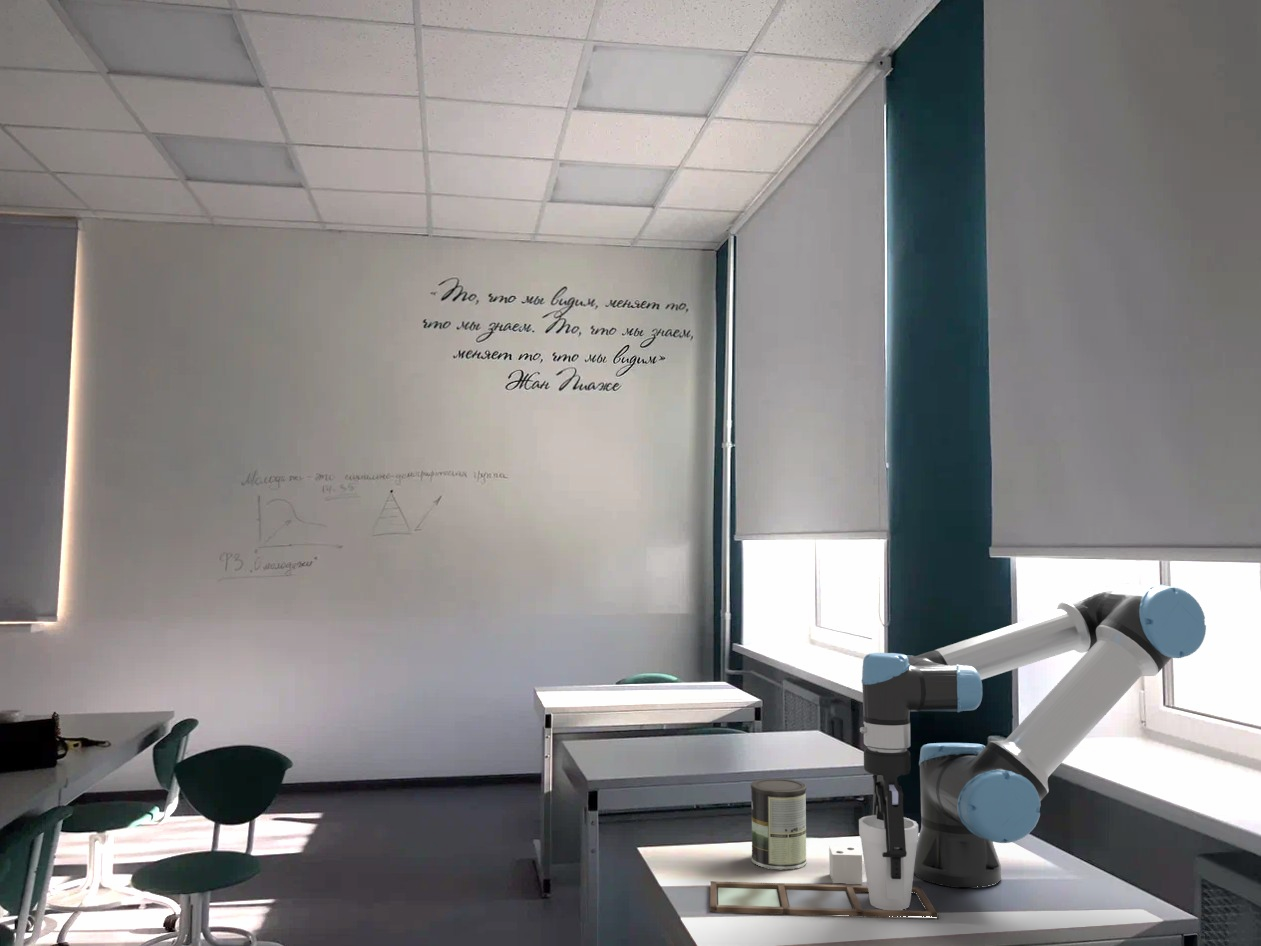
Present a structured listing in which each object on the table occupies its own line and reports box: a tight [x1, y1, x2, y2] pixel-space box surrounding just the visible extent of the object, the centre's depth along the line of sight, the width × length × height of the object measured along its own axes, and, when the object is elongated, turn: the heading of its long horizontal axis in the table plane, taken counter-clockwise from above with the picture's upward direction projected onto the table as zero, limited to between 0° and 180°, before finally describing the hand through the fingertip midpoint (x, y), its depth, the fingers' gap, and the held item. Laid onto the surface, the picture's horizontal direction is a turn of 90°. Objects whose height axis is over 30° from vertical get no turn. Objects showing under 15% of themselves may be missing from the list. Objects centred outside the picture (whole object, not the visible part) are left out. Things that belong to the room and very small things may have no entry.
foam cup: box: [858, 814, 919, 911], centre depth 162 cm, size 10×9×13 cm
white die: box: [828, 845, 863, 885], centre depth 174 cm, size 5×5×5 cm
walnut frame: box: [709, 880, 939, 918], centre depth 162 cm, size 36×12×1 cm, turn 85°
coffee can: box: [750, 778, 808, 870], centre depth 184 cm, size 10×10×14 cm
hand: (889, 887), depth 161 cm, fingers closed on foam cup, 9 cm apart
